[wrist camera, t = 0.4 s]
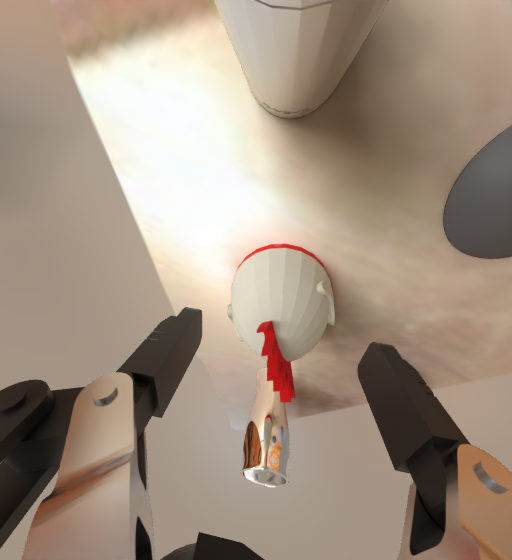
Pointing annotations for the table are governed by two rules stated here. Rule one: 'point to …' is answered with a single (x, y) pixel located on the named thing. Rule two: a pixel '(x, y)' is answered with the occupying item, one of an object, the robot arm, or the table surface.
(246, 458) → the beer glass
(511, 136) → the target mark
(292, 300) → the kitchen timer
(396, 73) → the table surface
